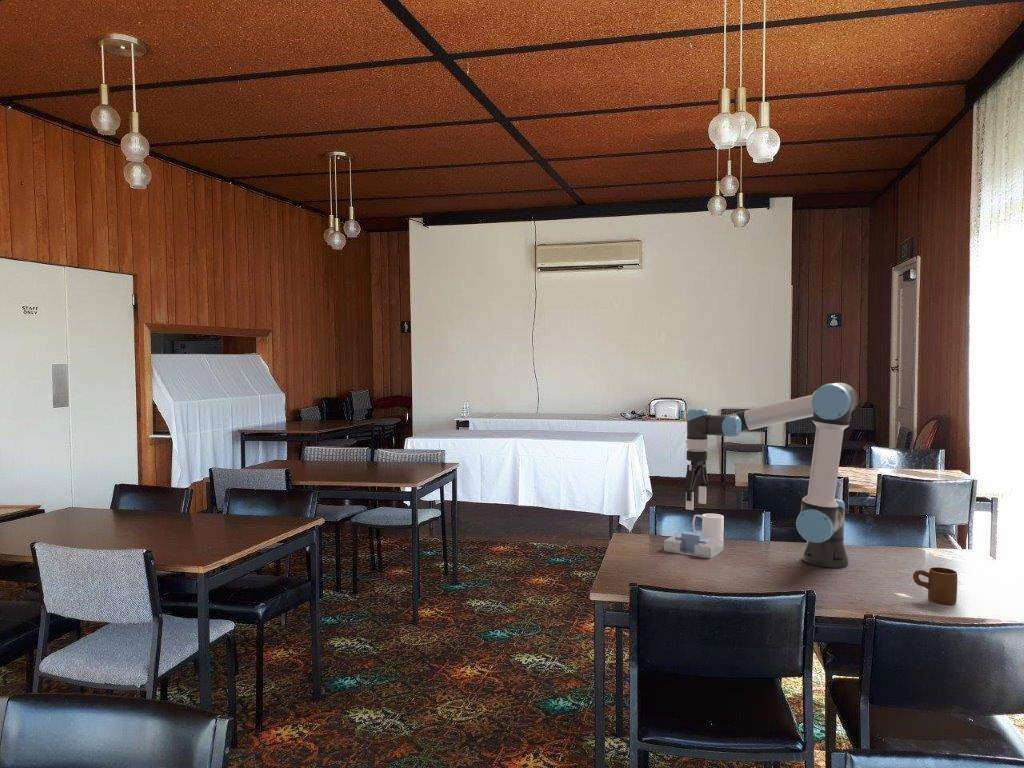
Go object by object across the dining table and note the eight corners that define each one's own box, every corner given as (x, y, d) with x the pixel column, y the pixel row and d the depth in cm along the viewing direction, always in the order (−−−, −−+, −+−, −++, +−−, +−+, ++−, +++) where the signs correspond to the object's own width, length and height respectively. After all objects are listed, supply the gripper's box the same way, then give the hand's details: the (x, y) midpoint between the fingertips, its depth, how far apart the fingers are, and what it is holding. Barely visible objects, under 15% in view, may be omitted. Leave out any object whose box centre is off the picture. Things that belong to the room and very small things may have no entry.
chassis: (723, 550, 283) (723, 539, 282) (710, 558, 271) (711, 547, 271) (677, 543, 293) (678, 532, 292) (663, 550, 281) (664, 540, 281)
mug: (915, 602, 225) (916, 571, 225) (908, 594, 232) (909, 564, 232) (960, 606, 222) (961, 575, 222) (952, 598, 229) (953, 568, 229)
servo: (709, 551, 280) (709, 534, 280) (705, 554, 277) (705, 536, 277) (678, 547, 287) (679, 530, 287) (674, 549, 284) (675, 532, 284)
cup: (691, 537, 303) (692, 512, 302) (722, 539, 300) (723, 514, 299) (692, 542, 295) (692, 516, 294) (723, 544, 292) (724, 518, 291)
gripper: (698, 446, 293) (697, 499, 294) (674, 452, 272) (674, 510, 273) (717, 447, 289) (716, 502, 289) (694, 454, 268) (694, 513, 269)
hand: (696, 506), depth 281 cm, fingers open, 13 cm apart
